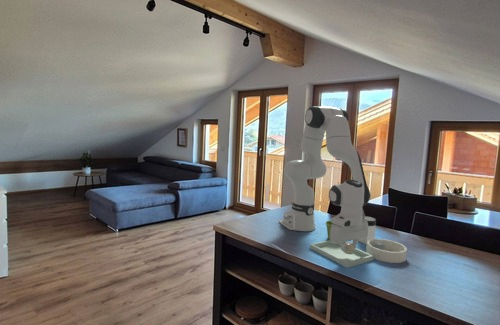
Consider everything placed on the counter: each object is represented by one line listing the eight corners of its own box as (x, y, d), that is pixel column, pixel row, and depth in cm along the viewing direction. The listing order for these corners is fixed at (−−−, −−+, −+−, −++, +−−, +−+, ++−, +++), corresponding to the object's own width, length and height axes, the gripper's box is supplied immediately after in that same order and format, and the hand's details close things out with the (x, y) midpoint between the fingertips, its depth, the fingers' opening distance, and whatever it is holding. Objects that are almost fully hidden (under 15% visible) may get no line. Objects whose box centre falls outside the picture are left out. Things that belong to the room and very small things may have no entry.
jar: (356, 237, 153) (358, 215, 152) (373, 239, 151) (375, 217, 150) (357, 243, 145) (359, 220, 144) (375, 245, 142) (376, 222, 141)
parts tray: (309, 249, 135) (310, 244, 135) (334, 243, 144) (334, 238, 143) (347, 269, 117) (347, 263, 116) (373, 261, 125) (373, 255, 124)
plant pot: (321, 239, 149) (321, 222, 148) (330, 235, 156) (331, 219, 155) (337, 244, 142) (338, 227, 141) (346, 240, 149) (348, 223, 148)
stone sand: (340, 251, 127) (341, 243, 126) (347, 249, 129) (348, 241, 129) (348, 255, 123) (349, 246, 123) (355, 253, 125) (356, 245, 125)
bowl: (358, 252, 133) (359, 242, 133) (380, 246, 142) (381, 236, 141) (391, 267, 120) (392, 255, 119) (413, 259, 128) (414, 248, 127)
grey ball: (371, 250, 134) (372, 243, 134) (378, 249, 136) (378, 241, 136) (380, 254, 130) (381, 246, 130) (386, 252, 133) (387, 244, 132)
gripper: (361, 213, 132) (358, 242, 134) (328, 219, 122) (326, 250, 123) (373, 217, 127) (370, 248, 128) (340, 223, 116) (337, 256, 118)
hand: (348, 249), depth 126 cm, fingers closed on stone sand, 4 cm apart
